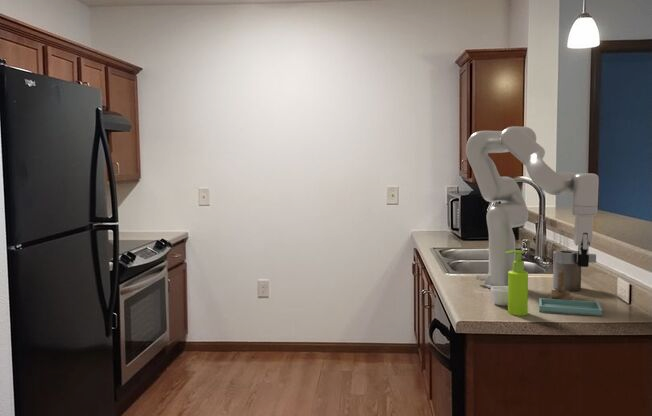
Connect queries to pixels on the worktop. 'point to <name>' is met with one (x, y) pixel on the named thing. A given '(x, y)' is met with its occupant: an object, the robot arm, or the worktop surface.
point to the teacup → (500, 295)
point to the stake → (560, 288)
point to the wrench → (571, 257)
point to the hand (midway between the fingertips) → (582, 265)
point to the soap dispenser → (517, 286)
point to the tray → (570, 307)
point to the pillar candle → (567, 274)
